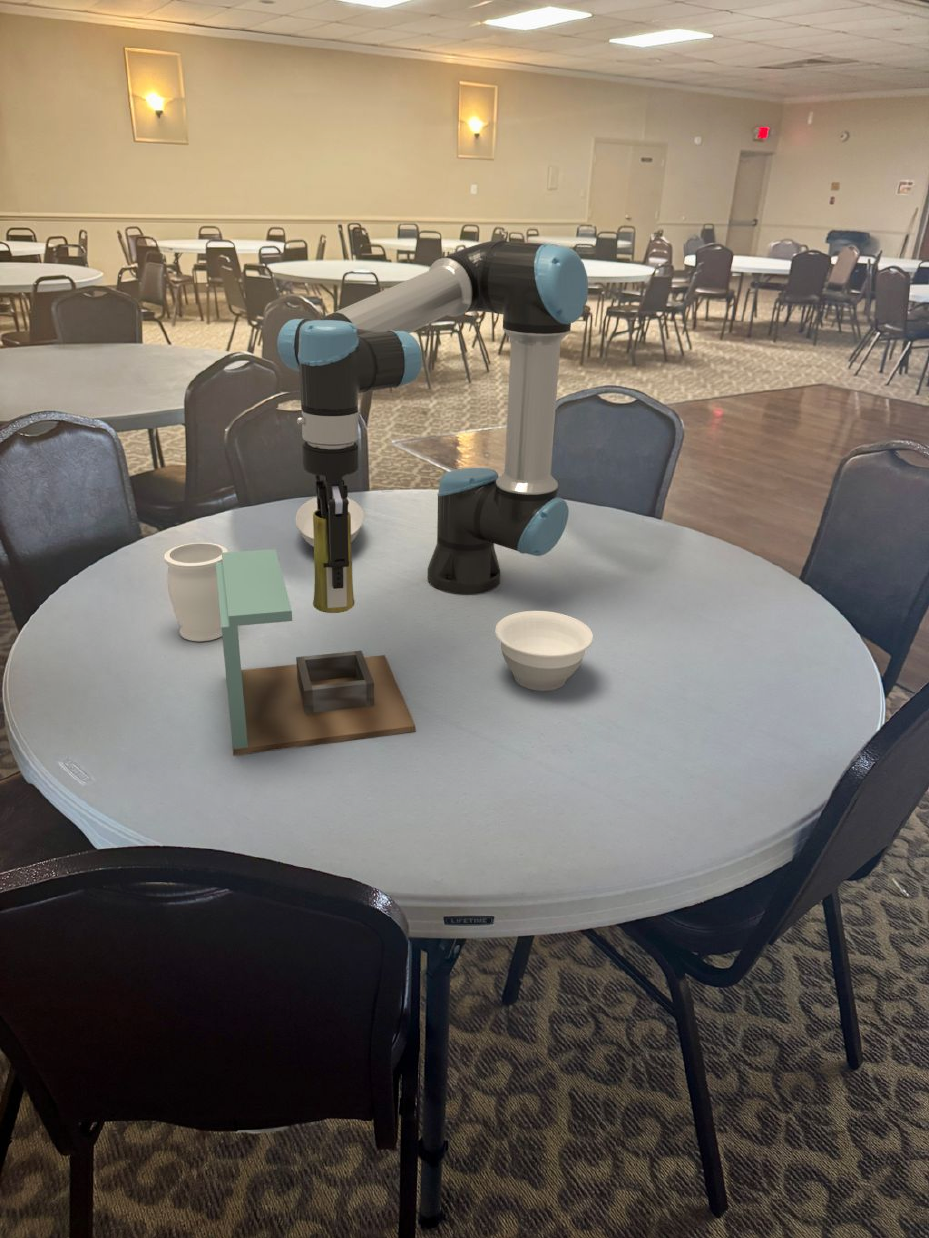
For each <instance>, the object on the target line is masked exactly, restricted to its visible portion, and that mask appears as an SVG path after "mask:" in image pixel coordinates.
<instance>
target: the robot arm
mask: <svg viewBox="0 0 929 1238" xmlns="http://www.w3.org/2000/svg"><path fill="white" fill-rule="evenodd" d="M588 293H589V280H588V273H587V270H586V267H585V264H584V262H583V261H582V259H581V257H580V255H579V254H578V253H577V252H576V251H575V250H574V249H572V248H570V247H568V246H563V245H557V244H554V243H541V242H540V243H539V242H538V243H537V242H536V243H535V242H517V241H506V240H491V241H486V242H480V243H478V244H474V245H472V246H469V247H465V248H463V249H460V250H458V251H454V252H453V253H450V254H447V255H445V256H443V257H441V258H439V259H436V260H435V261H434V262H433V263H432V264H431V265H430V266H429V269H428V270H427V271H425V272H424V273H420V274H418V275H416V276H414V277H412V278H410V279H407V280H405V281H402V282H400V283H398V284H395V285H394V286H391V287H388V288H386V289H384V290H381V291H379V292H377V293H375V294H373V295H370V296H368V297H365V298H363V299H361V300H359V301H356V302H355V303H352V304H349V305H348V306H345V307H343V308H341V309H339V310H337V311H335V312H331V313H329V314H327V315H325V316H322V317H319V318H317V319H315V320H311V319H309V318H294V319H290V320H288V321H287V322H286V323H285V324H284V325H283V326H282V327H281V329H280V331H279V333H278V336H277V341H276V342H277V344H276V345H277V351H278V355H279V358H280V360H281V362H282V363H283V364H284V365H285V366H286V367H287V368H289V369H291V370H294V371H296V372H299V389H300V408H301V415H302V417H298V418H297V419H296V423H297V424H298V425H300V426H301V430H302V431H301V433H302V434H301V435H302V439H303V440H304V443H303V444H302V445H301V446H302V447H301V448H302V467H303V469H304V471H305V472H307V473H309V474H311V475H314V477H315V483H314V484H315V485H314V488H315V492H316V497H317V510H318V509H320V510H321V515H322V517H323V518H325V519H326V538H327V554H328V561H327V563H323V568H326V571H327V606H328V608H334V607H347V582H346V567H349V554H348V505H349V501H348V499H347V498H349V496H348V495H349V493H348V486H347V485H345V480H344V479H343V478H344V477H345V476H347V475H352V474H354V473H355V472H357V471H358V468H359V445H358V444H357V443H356V442H357V440H359V394H361V393H366V392H373V391H380V390H385V389H397V388H399V387H401V386H405V385H408V384H410V383H413V382H414V381H415V380H416V379H417V378H418V376H419V375H420V373H421V370H422V366H423V353H422V349H421V346H420V344H419V341H418V340H417V339H416V338H415V337H414V336H413V335H412V333H413V332H416V331H417V330H419V329H421V328H423V327H425V326H427V325H429V324H432V323H433V322H435V321H438V320H439V319H442V318H444V317H446V316H448V317H452V318H453V317H454V318H455V317H456V318H457V317H460V316H462V315H464V314H466V313H471V312H473V313H474V312H482V313H483V312H484V313H493V314H498V315H502V330H503V331H504V333H505V334H506V335H507V336H508V338H509V339H510V351H509V352H510V353H509V355H510V356H509V373H508V395H507V413H506V415H507V416H506V431H505V432H506V435H505V453H504V457H505V458H504V471H503V472H502V474H501V475H500V476H499V473H498V471H496V470H495V469H492V468H486V467H467V468H466V467H465V468H459V469H454V470H451V471H447V472H445V473H444V474H443V475H442V476H441V477H440V479H439V483H438V493H437V527H436V529H437V530H436V531H437V532H436V533H437V535H436V536H437V537H436V539H437V540H436V545H435V548H434V550H433V552H432V555H431V558H430V561H429V563H428V566H427V581H428V583H429V584H430V585H431V586H433V587H434V588H435V589H439V590H441V591H443V592H446V593H450V594H457V595H458V594H459V595H474V594H483V593H487V592H490V591H492V590H495V589H496V588H497V587H498V586H499V585H500V583H501V573H502V572H501V568H500V564H499V563H500V562H499V560H498V556H497V553H496V549H495V545H498V546H499V547H500V546H501V547H504V548H507V549H510V550H513V551H517V552H518V553H520V554H527V555H531V556H535V557H542V556H544V555H546V554H548V553H549V552H550V551H552V550H553V549H554V547H556V545H557V544H558V543H559V541H560V540H561V538H562V536H563V534H564V532H565V529H566V527H567V523H568V519H569V505H568V503H567V502H566V500H564V499H563V498H562V497H559V496H558V491H559V490H558V489H559V483H558V481H557V480H556V479H555V478H554V477H553V475H552V463H553V462H552V461H553V446H554V436H555V435H554V434H555V421H556V420H555V419H556V408H557V394H558V382H559V381H558V380H559V368H560V367H559V366H560V358H561V357H560V355H561V343H562V340H564V338H566V336H568V335H569V334H570V333H571V326H572V324H573V323H575V322H577V321H578V320H579V319H580V318H581V317H582V315H583V313H584V307H586V306H587V301H588Z"/></svg>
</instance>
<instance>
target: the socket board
mask: <svg viewBox="0 0 929 1238" xmlns="http://www.w3.org/2000/svg"><path fill="white" fill-rule="evenodd" d="M295 658H296V661H295V662H296V663H295V664H285V665H278V666H276V665H275V666H267V667H265V666H264V667H257V668H246V669H241V673H242V685H243V697H244V708H245V720H246V732H247V744H248V748H240V749H233V748H232V753H233V755H232V756H239V755H246V754H253V753H263V752H269V751H277V750H278V751H279V750H285V749H292V748H300V747H308V746H316V745H323V744H331V743H337V742H338V743H339V742H347V741H355V740H361V739H368V738H369V739H371V738H377V737H384V736H385V737H386V736H392V735H401V734H406V733H407V734H408V733H414V732H416V724H415V722H414V719H413V717H412V715H411V713H410V710H409V708H408V705H407V703H406V701H405V699H404V696H403V694H402V691H401V690H400V687H399V685H398V682H397V680H396V677H395V676H394V674H393V671H392V669H391V666H390V664H389V662H388V659H387V657H386V655H382V654H381V655H373V656H364V653H363V650H355V651H354V650H353V651H344V652H334V653H324V654H314V655H304V656H296V657H295Z"/></svg>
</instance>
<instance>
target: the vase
mask: <svg viewBox="0 0 929 1238" xmlns="http://www.w3.org/2000/svg"><path fill="white" fill-rule="evenodd" d="M313 531H314V547H313V558H314V559H313V563H314V567H313V569H314V584H313V585H314V587H313V592H314V593H313V600H312V605H313V606H312V607H314V608H315V609H316V610H318V611H319V612H323V613H326V614H328V613H329V614H338V613H344V612H348V611H350V610H351V609H353V607H354V606H355V599H354V583H353V582H354V581H353V560H352V559H353V555H352V542H351V514H350V513H349V512H348V554H349V567H346V582H347V607H334V608H328V606H327V571H326V568H323V563H327V561H328V554H327V538H326V519H325V518H323V517H322V515H321V510H320V509H318V510H316V511H315V512H314V513H313Z"/></svg>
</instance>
